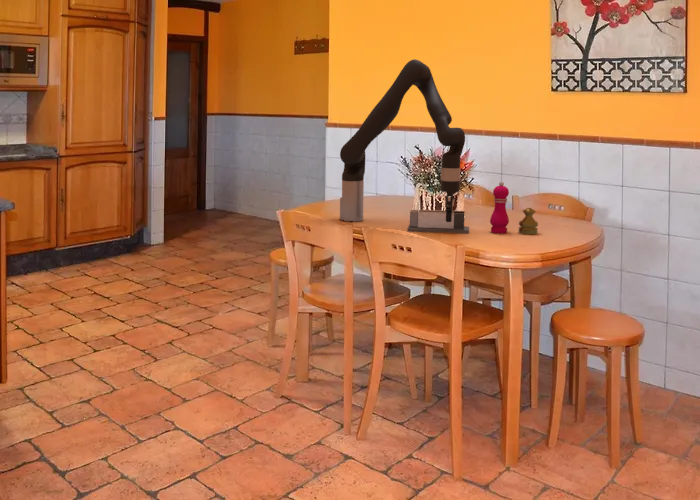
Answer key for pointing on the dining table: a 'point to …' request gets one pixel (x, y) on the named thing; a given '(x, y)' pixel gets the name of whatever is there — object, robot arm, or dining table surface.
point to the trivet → (438, 230)
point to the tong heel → (414, 218)
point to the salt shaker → (528, 223)
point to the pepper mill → (500, 210)
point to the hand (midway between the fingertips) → (448, 220)
